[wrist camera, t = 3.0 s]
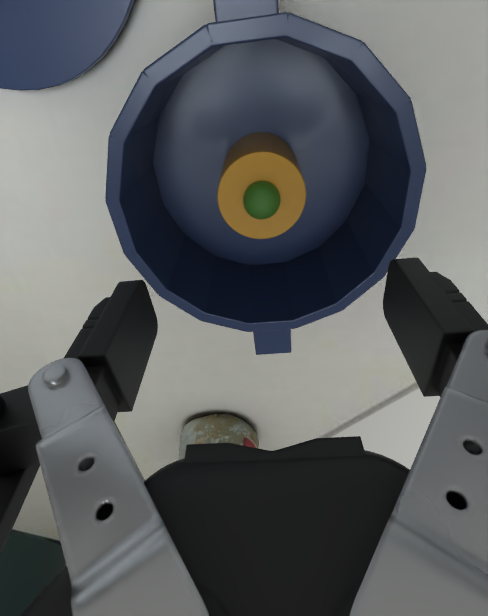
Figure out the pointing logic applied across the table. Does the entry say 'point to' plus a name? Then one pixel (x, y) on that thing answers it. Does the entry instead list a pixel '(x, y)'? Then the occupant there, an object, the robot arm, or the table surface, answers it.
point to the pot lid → (55, 39)
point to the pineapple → (261, 187)
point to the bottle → (217, 432)
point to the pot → (308, 152)
